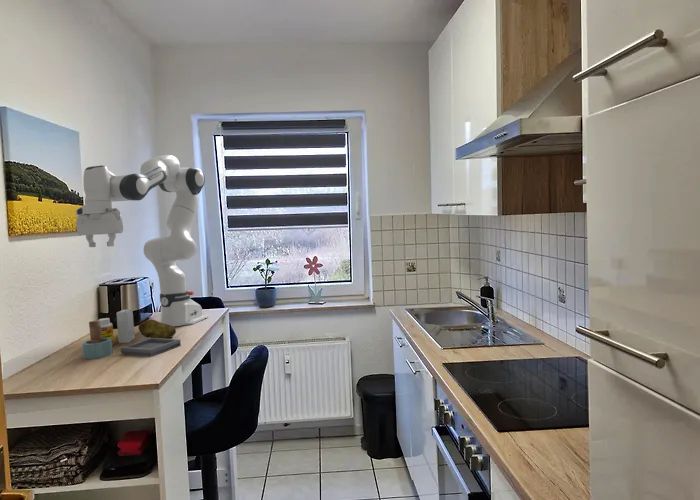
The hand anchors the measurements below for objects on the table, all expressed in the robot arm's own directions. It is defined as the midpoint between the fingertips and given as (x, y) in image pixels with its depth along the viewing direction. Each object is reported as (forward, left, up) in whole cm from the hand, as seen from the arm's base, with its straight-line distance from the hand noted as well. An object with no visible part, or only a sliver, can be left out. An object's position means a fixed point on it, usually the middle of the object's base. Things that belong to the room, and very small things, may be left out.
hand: (101, 246), depth 182 cm
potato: (-13, +10, -38) cm, 41 cm away
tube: (+10, +5, -38) cm, 39 cm away
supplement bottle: (-1, -4, -38) cm, 38 cm away
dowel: (+10, +5, -38) cm, 39 cm away
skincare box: (-8, -1, -38) cm, 39 cm away
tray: (0, +20, -38) cm, 43 cm away
